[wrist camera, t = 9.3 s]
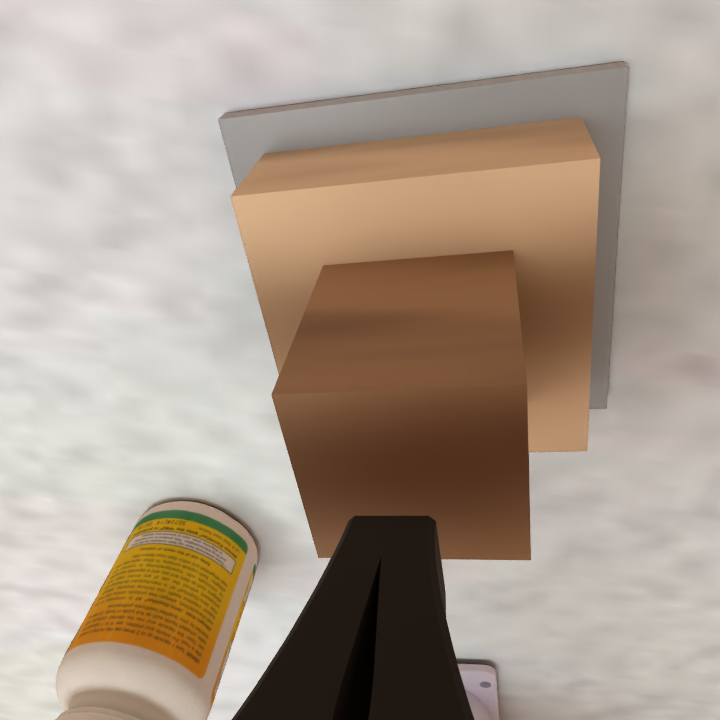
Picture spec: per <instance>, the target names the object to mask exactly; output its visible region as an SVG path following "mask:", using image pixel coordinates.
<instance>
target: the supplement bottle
mask: <svg viewBox="0 0 720 720" xmlns="http://www.w3.org/2000/svg"><path fill="white" fill-rule="evenodd" d="M257 564H258V553H257V548H256V545H255V543H254V541H253V539H252V537H251V535H250V534H249V533H248V532H247V530H246V529H245V528H244V527H243V526H242V525H241V524H240V523H238V522H237V521H235V520H234V519H232V518H231V517H229V516H228V515H227V514H225V513H224V512H222V511H220V510H218V509H216V508H213V507H211V506H208V505H205V504H202V503H197V502H191V501H175V502H168V503H164V504H160V505H157V506H155V507H153V508H151V509H150V510H148V511H147V512H146V513H145V514H144V515H143V516H142V517H141V518H140V519H139V521H138V522H137V524H136V525H135V527H134V529H133V531H132V532H131V534H130V536H129V537H128V539H127V541H126V543H125V545H124V547H123V549H122V551H121V552H120V554H119V556H118V558H117V560H116V562H115V563H114V565H113V567H112V569H111V571H110V573H109V575H108V577H107V579H106V580H105V582H104V584H103V586H102V587H101V589H100V591H99V594H98V596H97V597H96V599H95V601H94V603H93V604H92V606H91V608H90V610H89V612H88V614H87V616H86V618H85V619H84V621H83V623H82V625H81V627H80V628H79V630H78V632H77V634H76V635H75V637H74V639H73V641H72V642H71V644H70V646H69V648H68V650H67V651H66V653H65V655H64V657H63V660H62V662H61V664H60V666H59V669H58V672H57V676H56V691H57V696H58V699H59V702H60V704H61V706H62V708H63V709H64V711H65V712H63V713H62V714H60V715H59V717H58V718H57V719H56V720H207V718H208V716H209V713H210V710H211V707H212V705H213V702H214V698H215V695H216V692H217V689H218V686H219V683H220V680H221V677H222V674H223V671H224V668H225V665H226V662H227V659H228V656H229V652H230V649H231V646H232V643H233V640H234V637H235V634H236V631H237V628H238V625H239V622H240V619H241V616H242V613H243V610H244V607H245V604H246V601H247V598H248V595H249V592H250V589H251V585H252V582H253V579H254V575H255V572H256V569H257Z"/></svg>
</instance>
